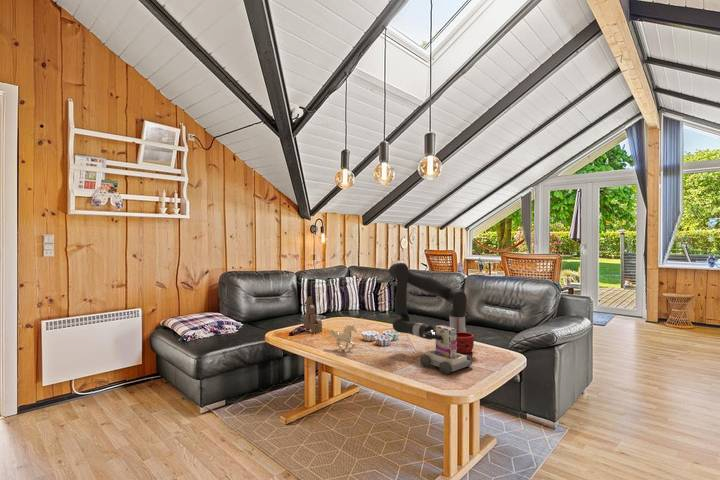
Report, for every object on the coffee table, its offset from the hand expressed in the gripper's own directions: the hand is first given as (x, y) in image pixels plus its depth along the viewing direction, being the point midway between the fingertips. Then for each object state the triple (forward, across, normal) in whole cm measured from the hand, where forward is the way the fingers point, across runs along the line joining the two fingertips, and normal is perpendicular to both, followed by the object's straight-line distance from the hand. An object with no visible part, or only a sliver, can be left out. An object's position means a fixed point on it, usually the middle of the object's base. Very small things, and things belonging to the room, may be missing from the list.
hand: (446, 336), depth 195 cm
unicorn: (-58, -24, +16) cm, 64 cm away
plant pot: (-7, +21, +16) cm, 27 cm away
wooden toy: (-108, -15, +16) cm, 110 cm away
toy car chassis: (-1, 0, +16) cm, 16 cm away
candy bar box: (0, 0, +12) cm, 12 cm away
